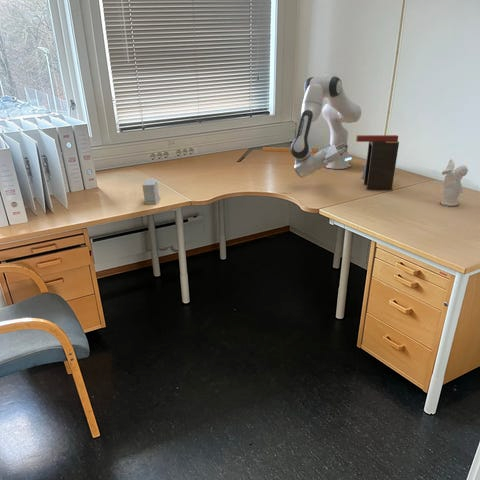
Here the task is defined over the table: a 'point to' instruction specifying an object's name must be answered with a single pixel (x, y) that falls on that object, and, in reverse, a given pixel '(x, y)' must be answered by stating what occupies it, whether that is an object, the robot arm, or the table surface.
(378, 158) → the stand
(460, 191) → the cherub figurine
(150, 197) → the cosmetics box
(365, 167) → the medicine box
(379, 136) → the red block
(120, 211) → the table surface
